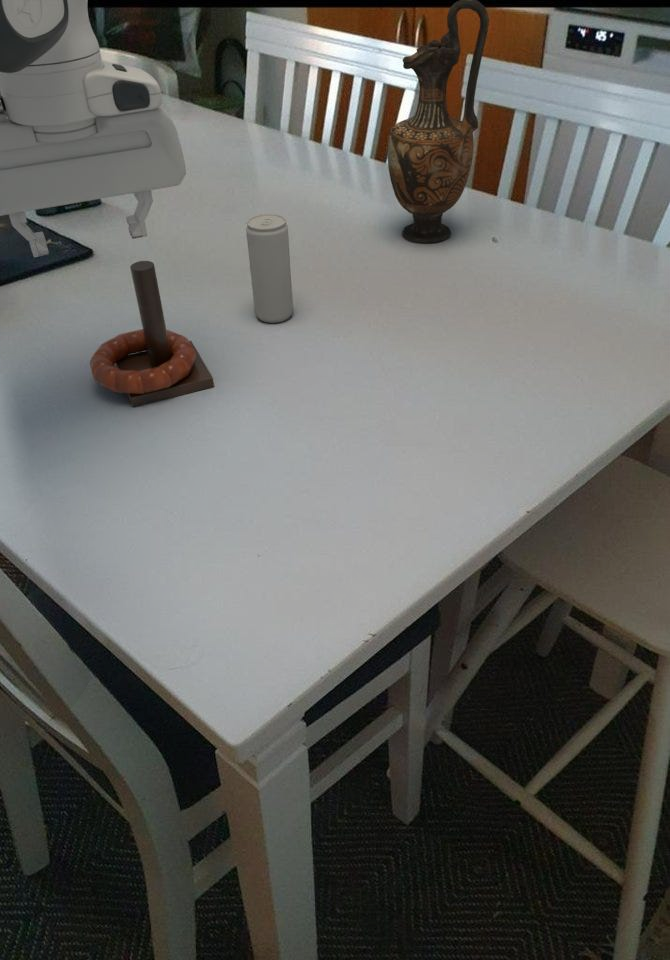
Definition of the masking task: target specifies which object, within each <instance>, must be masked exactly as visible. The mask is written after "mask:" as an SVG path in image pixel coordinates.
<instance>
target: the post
mask: <svg viewBox="0 0 670 960" xmlns="http://www.w3.org/2000/svg"><path fill="white" fill-rule="evenodd" d="M129 268H130V275H131V278H132V283H133V288H134V292H135V298H136V303H137V307H138V312H139V315H140V316H139V317H140V322H141V326H142V327H141V328H142V329H143V332H144V336H145V341H146V346H147V351H142V352H138V353H133V354H129V355H127V356H125V357H124V358H122V359H120V360H118V361H117V362H116V363H115V365H114V366H115V367H116V368H118V369H121V370H130V371H141V370H145V369H150V368H154V367H158V366H160V365H162V364H164V363H165V362H167V361H169V360H170V359H171V358H172V356H173V355H172V354H171V352H170V346H169V341H168V336H167V330H168V329H167V325H166V321H165V320H166V319H165V314H164V309H163V305H162V299H161V294H160V289H159V282H158V277H157V272H156V267H155V263H154V262H153V261H150V260H140V261H136V262H133V263H132V264H131V265H130V267H129ZM189 341H190V343H191V345H192V347H193V349H194V350H195V352H196V361H195V363H194V365H193V367H192V369H191V371H190V373H189V374H188V375H187V376H186V377H185V378H183V379H182V380H180V381H178V382H177V383H175V384H173V385H172V386H170V387H168V388H165V389H161V390H157V391H153V392H149V393H145V394H132V393H126V394H127V396H128V400H129V402H130V405H131V406H132V408H135V407H140V406H144V405H147V404H151V403H156V402H160V401H163V400H167V399H168V400H169V399H171V398H176V397H180V396H183V395H188V394H191V393H192V394H193V393H196V392H200V391H205V390H208V389H212V388H214V387H215V383H214V377H213V375H212V374H211V372H210V370H209V369H208V367H207V366H206V365H207V364H205V362H204V360H203V358H202V357H201V355H200V353H199V351H198V350H197V348H196V347H195V345H194V343H193V341H192V340H189Z"/></svg>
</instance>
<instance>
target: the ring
mask: <svg viewBox="0 0 670 960" xmlns="http://www.w3.org/2000/svg"><path fill="white" fill-rule="evenodd" d="M166 330H167V336H168V341H169V346H170V352H171V354H172V355H173V356H172V358H171V359H170V360H169V361H167V362H165V363H164V364H162V365H160V366H158V367H154V368H150V369H145V370H141V371H130V370H121V369H118V368H116V365H115V363H116V362H117V361H118V360H120V359H122V358H124V357H125V356H127V355H130V354H135V353H139V352H143V351H147V346H146V341H145V336H144V332H143V328H142V329H138V330H137V329H136V330H133V331H129V332H123V333H120V334H118V335H116V336H114V337H112V338H111V339H108V340H107V341H105V342H103V343H101V344H99V346H98V348H97V349H96V351H95V352H94V353H93V355H92V356H91V358H90V360H89V367H90V371H91V374H92V377H93V379H94V381H95V382H96V383H97V384H98V385H100V386H102V387H104V388H105V389H108V390H110V391H112V392H114V393H118V394H127V393H132V394H145V393H149V392H153V391H157V390H161V389H165V388H168V387H170V386H172V385H173V384H175V383H177V382H178V381H180V380H182V379H183V378H185V377H186V376H187V375H188V374H189V373H190V371H191V369H192V367H193V365H194V363H195V361H196V352H195V350H194V349H193V347H192V345H191V343H190V341H191V340H189V339H188V338H187V337H186V336H184V335H182V334H179V333H178V332H177V333H176V332H174V331H172V330H170V329H166Z"/></svg>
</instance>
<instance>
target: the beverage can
mask: <svg viewBox="0 0 670 960" xmlns="http://www.w3.org/2000/svg"><path fill="white" fill-rule="evenodd" d="M245 232H246V241H247V250H248V251H247V252H248V261H249V270H250V271H249V272H250V279H251V289H252V298H253V307H254V308H253V309H254V315H255V316H256V317H257V318H258V319H259V320H260V321H262V322H264V323H268V324H269V323H270V324H276V323H281V322H284V321H287V320H288V319H290V318H291V316H292V315H293V314H294V301H293V286H292V274H291V272H292V271H291V256H290V255H291V254H290V253H291V252H290V238H289V226H288V224H287V219H286V217H285V216H284V215H281V214H277V213H261V214H255V215H253V216H251V217H249V218H248V219H247V220H246V227H245Z"/></svg>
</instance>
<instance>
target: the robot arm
mask: <svg viewBox="0 0 670 960" xmlns="http://www.w3.org/2000/svg"><path fill="white" fill-rule="evenodd" d="M88 3H89V1H88V0H0V216H1V217H2V216H7V215H8V216H9V217H8V218H9V220H10V223H11V227H13V228H14V229H15V230H16V231H17V232H18V234H20V235H21V236H22V237H23V238H24V239H25V240H26V241H27V242H28V243H29V246H30V250H31V252H32V256H33V258H39V257H43V256H47V255H50V251H49V248H48V244H47V240H46V237H45V235H44V232H43V231H42V230H41V231H37V232H34V230H32V229H31V228H30V227H29V226H28V225H27V222H28V219H27V216H26V212H30V211H37V210H43V209H49V208H55V207H60V206H65V205H71V204H78V203H83V202H89V201H96V200H102V199H108V198H114V197H119V196H125V195H130V194H133V197H134V198H135V199H136V201H137V204H136V207H135V210H134V213H133V214H131V215H126V216H125V218H126V223H127V225H128V227H127V229H128V233H129V236H130V237H131V239H132V240H134V239H140V238H146V237H148V231H147V226H146V225H147V224H146V220H147V217H148V215H149V212H150V210H151V207H152V206H153V202H154V199H153V193H152V191H154V190H161V189H165V188H166V189H167V188H172V187H177V186H180V185H181V184H182V183H183V180H184V179H185V177H186V175H187V169H186V167H187V166H186V163H185V162H186V161H185V157H184V152H183V148H182V145H181V144H182V143H181V140H180V137H179V134H178V131H177V127H176V125H175V123H174V121H173V119H172V117H171V116H170V115H169V114H168V112H166V110H165V109H164V108H163V107H162V106H161V105H162V102H163V94H162V90H161V86H160V85H159V82H158V81H157V79H155V77H153V76H152V75H151V74H150V73H149V72H147V71H145V70H143V69H141V68H139V67H135V66H131V65H125V64H121V63H120V64H119V63H115V62H112V61H106V60H103V59H102V55H101V48H100V44H99V41H98V39H97V37H96V35H95V33H94V30H93V28H92V25H91V22H90V17H89V11H88V10H89V9H88Z"/></svg>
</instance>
